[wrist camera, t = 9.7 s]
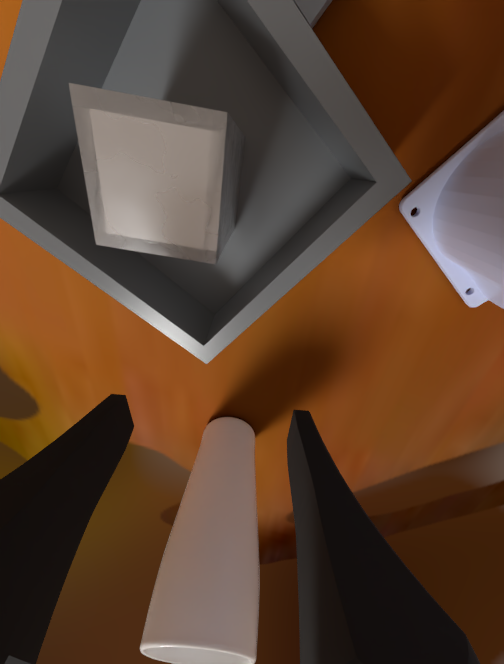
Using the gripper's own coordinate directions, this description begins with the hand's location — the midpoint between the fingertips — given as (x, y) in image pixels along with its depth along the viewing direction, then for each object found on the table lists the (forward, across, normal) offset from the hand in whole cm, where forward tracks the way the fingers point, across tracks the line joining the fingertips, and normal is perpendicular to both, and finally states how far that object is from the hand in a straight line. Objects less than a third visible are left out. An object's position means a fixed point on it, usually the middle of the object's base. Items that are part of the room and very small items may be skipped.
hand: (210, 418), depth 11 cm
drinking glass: (+10, 0, +14) cm, 17 cm away
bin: (+10, +2, -8) cm, 13 cm away
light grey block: (+9, +2, -8) cm, 13 cm away
